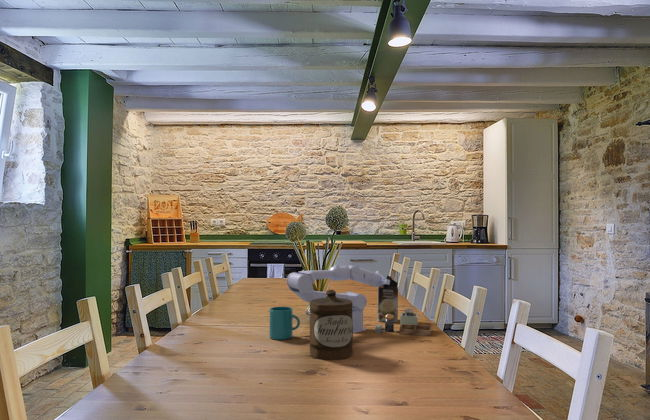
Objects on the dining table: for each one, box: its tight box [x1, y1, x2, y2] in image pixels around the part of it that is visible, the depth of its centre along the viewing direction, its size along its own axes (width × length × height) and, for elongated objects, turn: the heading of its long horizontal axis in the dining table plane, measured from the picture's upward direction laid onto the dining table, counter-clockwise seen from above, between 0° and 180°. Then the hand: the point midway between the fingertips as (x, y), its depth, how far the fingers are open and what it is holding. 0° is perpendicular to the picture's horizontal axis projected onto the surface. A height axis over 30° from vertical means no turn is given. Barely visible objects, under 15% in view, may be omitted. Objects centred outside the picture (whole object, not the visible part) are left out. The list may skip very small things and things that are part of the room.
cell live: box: [384, 314, 395, 333], centre depth 189 cm, size 4×4×7 cm
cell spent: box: [404, 308, 414, 316], centre depth 200 cm, size 4×4×7 cm
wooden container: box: [309, 289, 354, 361], centre depth 159 cm, size 15×15×22 cm
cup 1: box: [268, 306, 301, 341], centre depth 180 cm, size 9×12×11 cm
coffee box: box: [376, 285, 399, 323], centre depth 209 cm, size 9×6×16 cm
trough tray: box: [398, 324, 432, 337], centre depth 187 cm, size 12×10×3 cm
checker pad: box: [374, 324, 398, 334], centre depth 189 cm, size 9×8×2 cm
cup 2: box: [399, 312, 419, 325], centre depth 200 cm, size 7×7×5 cm
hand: (391, 284), depth 203 cm, fingers open, 7 cm apart
